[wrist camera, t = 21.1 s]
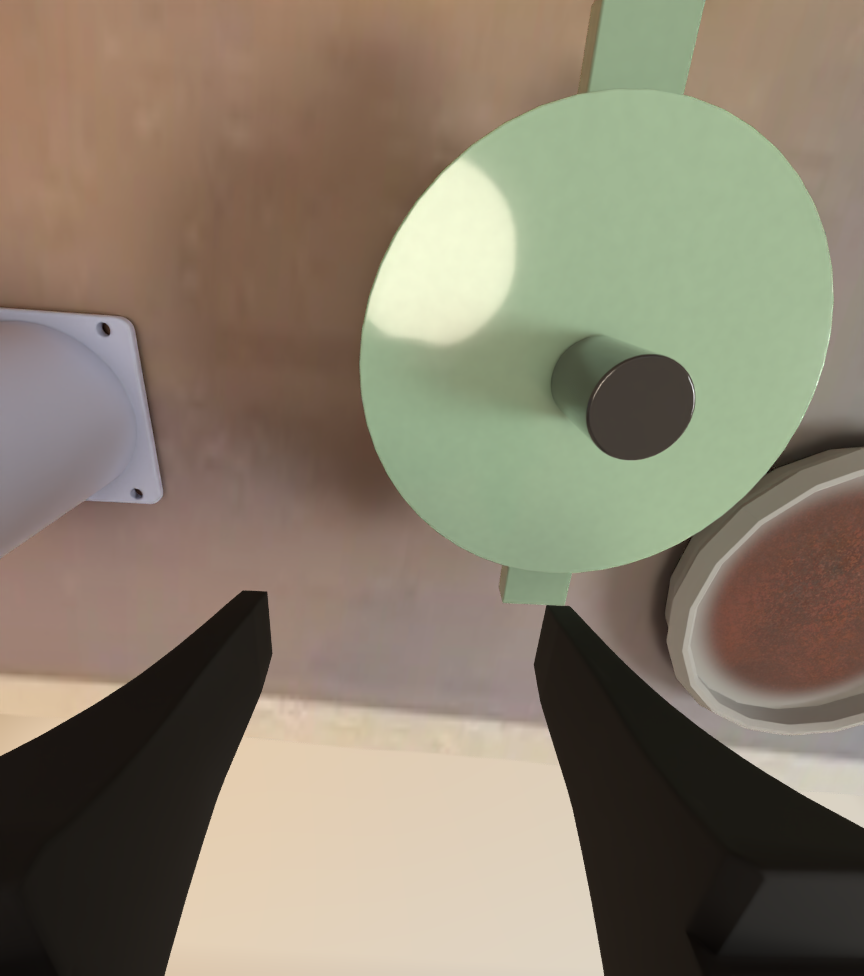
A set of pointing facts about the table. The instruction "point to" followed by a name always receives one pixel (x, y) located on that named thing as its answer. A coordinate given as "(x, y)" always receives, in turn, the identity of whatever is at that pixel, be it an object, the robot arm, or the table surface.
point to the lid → (596, 330)
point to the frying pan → (778, 602)
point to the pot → (607, 65)
